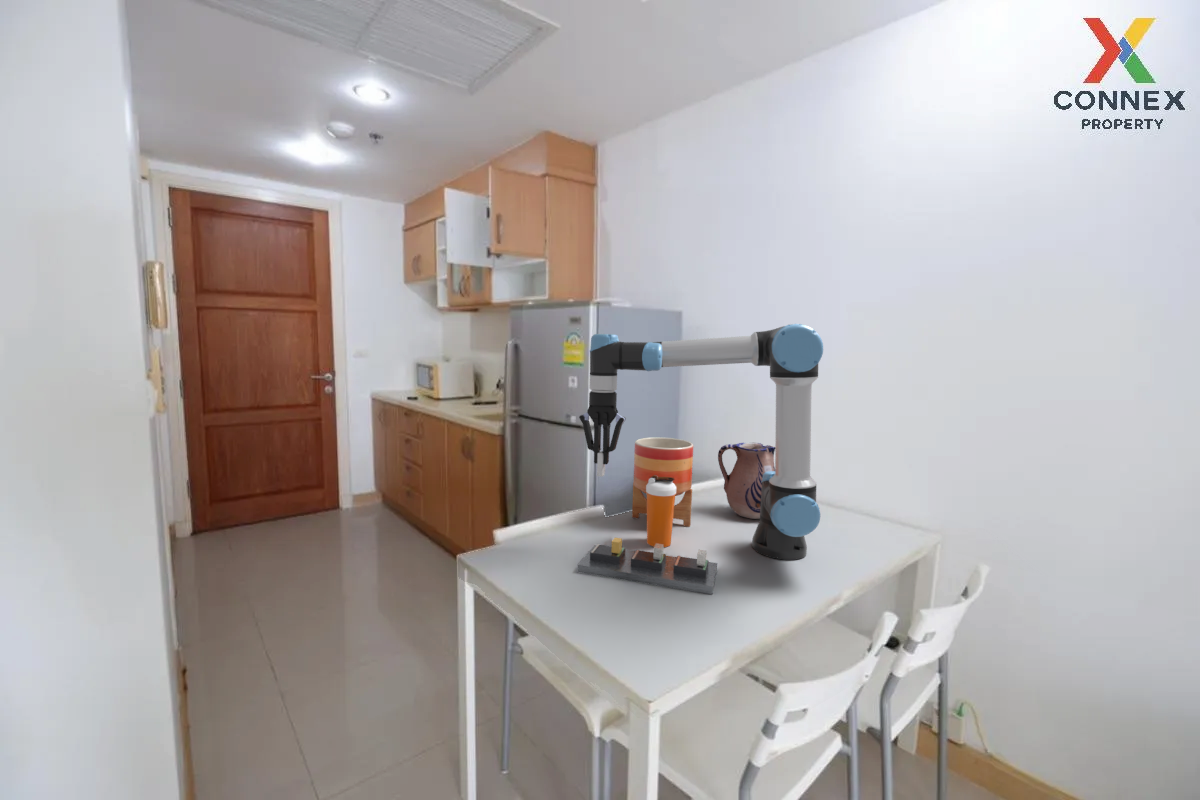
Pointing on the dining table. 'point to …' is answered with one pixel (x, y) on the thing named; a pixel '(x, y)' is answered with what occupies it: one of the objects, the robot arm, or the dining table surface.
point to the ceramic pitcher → (747, 476)
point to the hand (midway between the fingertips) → (601, 475)
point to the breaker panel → (650, 574)
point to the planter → (663, 472)
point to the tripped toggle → (616, 545)
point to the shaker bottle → (660, 510)
